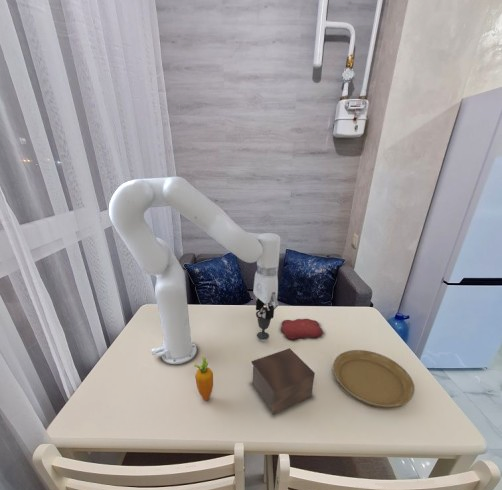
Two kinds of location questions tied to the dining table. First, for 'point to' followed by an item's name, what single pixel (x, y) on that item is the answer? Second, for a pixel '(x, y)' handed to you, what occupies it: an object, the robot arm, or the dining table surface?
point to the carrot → (204, 380)
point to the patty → (301, 329)
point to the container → (283, 393)
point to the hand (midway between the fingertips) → (264, 313)
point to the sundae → (262, 323)
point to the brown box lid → (282, 369)
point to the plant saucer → (373, 378)
